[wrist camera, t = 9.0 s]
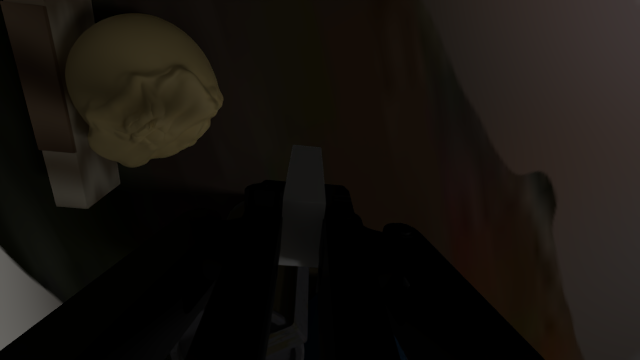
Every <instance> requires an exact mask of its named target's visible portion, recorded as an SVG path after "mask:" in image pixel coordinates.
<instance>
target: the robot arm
mask: <svg viewBox="0 0 640 360" xmlns="http://www.w3.org/2000/svg"><path fill="white" fill-rule="evenodd" d="M318 264H319V269H318V277H317V285H316V293H318V320H319V360H401V359H400V355H399V352H398V348H397V345H396V341H395V338H394V336H395V337H396V339H397V341H398V343H399V345H400V346H401V348H402V350H403V352H404V354H405V355H406V357H407V359H408V360H545V359H544V358H543V357H542V356H541V355H540V354H539V353H538V352H537V351H536V350H535V349H534V348H533V347H532V346H531V345H530V344H529V343H528V342H527V341H526V340H525V339H524V338H523V337H522V336H521V335H520V334H519V333H518V332H517V331H516V330H515V329H514V328H513V327H512V326H511V325H510V324H509V323H508V322H507V321H506V320H505V319H504V318H503V317H502V316H501V315H500V314H499V313H498V312H497V310H496V309H495V308H494V307H493V306H492V305H491V304H490V303H489V302H488V301H487V300H486V299H485V298H484V297H483V296H482V295H481V294H480V293H479V292H478V291H477V290H476V289H475V288H474V287H473V286H472V285H471V284H470V283H469V282H468V281H467V280H466V279H465V278H464V277H463V276H462V275H461V274H460V273H459V272H458V271H457V270H456V269H455V268H454V267H453V266H452V265H451V264H450V263H449V262H448V261H447V260H446V259H445V257H444V256H443V255H442V254H441V253H440V252H439V251H438V250H437V249H436V248H435V247H434V246H433V245H432V244H431V243H430V242H429V241H428V240H427V239H426V238H425V237H424V236H423V235H422V234H421V233H420V232H419V231H418V230H416V229H415V228H413V227H411V226H409V225H407V224H403V223H390V224H387V225H385V226H384V228H383V232H380V231H376V230H372V229H369V228H367V227H365V226H363V223H362V220H361V218H360V217H359V216H358V215H357V214H355V213H354V209H353V206H352V202H351V198H350V194H349V191H348V190H347V189H346V188H345V187H344V186H340V185H329V184H324V175H323V164H322V153H321V148H320V147H310V146H299V145H293V148H292V153H291V158H290V164H289V169H288V174H287V180H286V182H285V181H273V180H265V181H263V182H262V183H258V184H252V185H250V186H247V187H246V189H245V205H244V213H243V215H242V217H240V218H236V219H230V220H221V216H220V214H219V213H218V212H217V211H214V210H211V209H205V208H200V209H199V208H198V209H194V210H190V211H187V212H185V213H183V214H181V215H180V216H179V217H177V218H176V219H175V220H173V221H172V222H171V223H170V224H168V225H167V226H166V227H164V228H163V229H162V230H160V231H159V232H158V233H156V234H155V235H154V236H152V237H151V238H150V239H148V240H147V241H146V242H144V243H143V244H142V245H140V246H139V247H138V248H136V249H135V250H134V251H132V252H131V253H130V254H128V255H127V256H126V257H124V258H123V259H122V260H120V261H119V262H118V263H116V264H115V265H114V266H112V267H111V268H110V269H108V270H107V271H106V272H104V273H103V274H102V275H100V276H99V277H98V278H96V279H95V280H94V281H92V282H91V283H90V284H88V285H87V286H86V287H84V288H83V289H82V290H80V291H79V292H78V293H76V294H75V295H74V296H72V297H71V298H70V299H69V300H67V301H66V302H65V303H63V304H62V305H61V306H59V307H58V308H57V309H55V310H54V311H53V312H51V313H50V314H49V315H47V316H46V317H45V318H43V319H42V320H41V321H39V322H38V323H37V324H35V325H34V326H33V327H31V328H30V329H29V330H27V331H26V332H25V333H24V334H22V335H21V336H19V337H18V338H17V339H15V340H14V341H13V342H12V343H10V344H9V345H7V346H6V347H5V348H3V349H2V350H1V351H0V360H165V358H166V357H167V356H168V354H169V353H170V352H171V350H172V349H173V348H174V346H175V345H176V344H177V342H178V341H179V340H180V338H181V337H182V336H183V334H184V333H185V332H186V330H187V329H188V328H189V326H190V325H191V324H192V322H193V321H194V320H195V318H196V317H197V316H198V314H199V313H200V312H201V310H202V309H203V308H204V306H205V305H206V304H207V305H206V308H205V310H204V313H203V315H202V318H201V320H200V323H199V325H198V328H197V330H196V333H195V335H194V338H193V340H192V343H191V345H190V348H189V350H188V353H187V355H186V358H185V360H266V353H267V346H268V339H269V333H270V326H271V319H272V312H273V305H274V298H275V291H276V284H277V277H278V265H288V266H302V267H317V268H318ZM207 302H208V303H207Z"/></svg>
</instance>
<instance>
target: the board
mask: <svg viewBox="0 0 640 360" xmlns="http://www.w3.org/2000/svg"><path fill="white" fill-rule="evenodd" d="M0 5H1V8H2V12H3V16H4V20H5V24H6V27H7V31H8V35H9V39H10V43H11V47H12V50H13V54H14V58H15V62H16V66H17V69H18V73H19V77H20V81H21V85H22V89H23V92H24V96H25V100H26V104H27V108H28V112H29V115H30V119H31V123H32V127H33V131H34V134H35V138H36V142H37V146H38V150H42V152H43V156H44V160H45V164H46V168H47V172H48V176H49V179H50V183H51V187H52V191H53V195H54V199H55V203H56V206H60V207H72V208H84V209H88V208H89V207H91V206H92V205H93V204H95V203H96V202H97V201H98V200H100V199H101V198H102V197H104V196H105V195H106V194H108V193H109V192H110V191H112V190H113V189H114V188H115V187H117V186H118V185H119V184H121V183H120V177H119V171H118V165H117V161H112V160H109V159H106V158H104V157H102V156H100V155H98V154H97V153H95V152H94V151H93V150H92V149H91V147H90V146H89V142H88V139H87V136H88V133H89V125H88V124H87V123H86V121H85V120H84V119H83V118H82V116H81V115H80V114H79V112H78V111H77V109H76V108H75V106H74V104H73V102H72V100H71V98H70V95H69V92H68V89H67V85H66V79H65V68H66V62H67V58H68V55H69V53H70V50H71V48H72V46H73V45H74V43H75V42H76V40H77V39H78V38H79V37H80V36H81V34H82V33H84V32H85V31H86V30H87V29H88V28H90V27H91V26H92V25H94V24H95V20H94V14H93V8H92V2H91V0H3V1H0Z"/></svg>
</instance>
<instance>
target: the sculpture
mask: <svg viewBox="0 0 640 360" xmlns="http://www.w3.org/2000/svg"><path fill="white" fill-rule="evenodd" d="M65 79H66V85H67V89H68V92H69V95H70V98H71V100H72V102H73V104H74V106H75V108H76V109H77V111H78V112H79V114H80V115H81V116H82V118H83V119H84V120H85V121H86V123H87V124H88V125H89V133H88V136H87V139H88V142H89V146H90V147H91V149H92V150H93V151H94V152H95V153H97V154H98V155H100V156H102V157H104V158H106V159H109V160H112V161H117V162H119V163H121V164H122V165H124V166H127V167H138V166H141V165H144V164H146V163H147V162H148V161H149V160H150V159H153V158H165V157H168V156H172V155H174V154H176V153H178V152H179V151H180V150H183V149H185V148H187V147H190V146H193V145H194V144H195V143H196V141H197V139H199V138H200V137H201V136H202V135H203V134H204V133H205V132H206V130H207V129H208V128H209V127H210V119H211V118H212V117H214V116H215V115H216V114H217V111H218V110H219V108H221V106H222V102H223V96H222V94H221V92H220V90H219V88H218V84H217V80H216V77H215V74H214V72H213V70H212V67H211V65H210V63H209V61H208V59H207V58H206V56H205V54H204V53H203V51H202V50H201V49H200V47H199V46H198V45H197V44H196V43H195V42H194V41H193V40H192V39H191V38H190V37H189V36H188V35H187V34H186V33H185V32H183V31H182V30H181V29H179V28H178V27H176V26H175V25H173V24H172V23H170V22H168V21H166V20H164V19H161V18H159V17H156V16H152V15H148V14H141V13H127V14H120V15H115V16H112V17H109V18H106V19H104V20H101V21H99V22H97V23H96V24H94V25H92V26H91V27H90V28H88V29H87V30H86V31H85V32H84V33H82V34H81V36H80V37H79V38H78V39H77V40H76V42H75V43H74V45H73V46H72V48H71V50H70V53H69V55H68V58H67V62H66V68H65Z"/></svg>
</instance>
